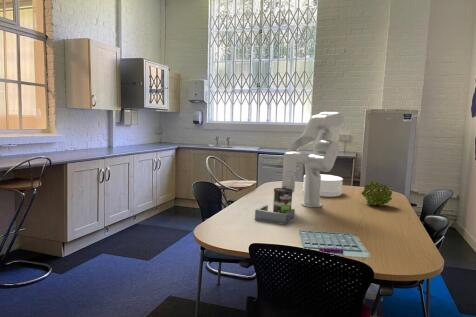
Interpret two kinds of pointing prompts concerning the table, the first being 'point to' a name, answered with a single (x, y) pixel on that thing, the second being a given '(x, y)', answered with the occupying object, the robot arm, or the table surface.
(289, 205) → the coffee can
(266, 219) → the can holder bay
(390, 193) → the green bumpy round lump
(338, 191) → the plate stack
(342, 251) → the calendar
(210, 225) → the table surface
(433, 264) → the table surface
